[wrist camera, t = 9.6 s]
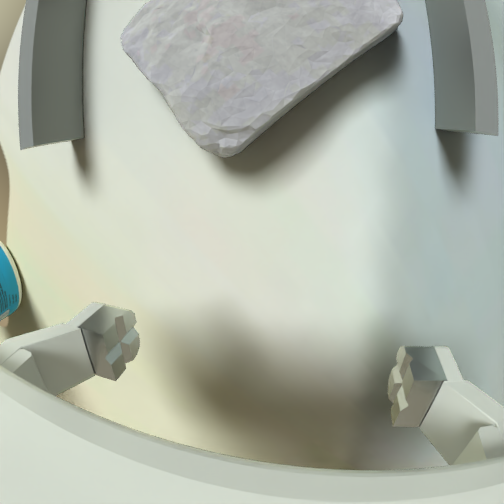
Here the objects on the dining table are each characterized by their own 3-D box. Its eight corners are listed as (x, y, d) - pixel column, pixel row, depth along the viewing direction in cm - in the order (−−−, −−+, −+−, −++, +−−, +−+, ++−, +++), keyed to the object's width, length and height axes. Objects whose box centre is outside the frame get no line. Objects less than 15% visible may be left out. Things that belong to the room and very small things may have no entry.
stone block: (142, 63, 16) (241, 175, 16) (92, 39, 12) (202, 171, 12) (282, -53, 13) (408, 40, 12) (263, -100, 8) (426, -6, 8)
